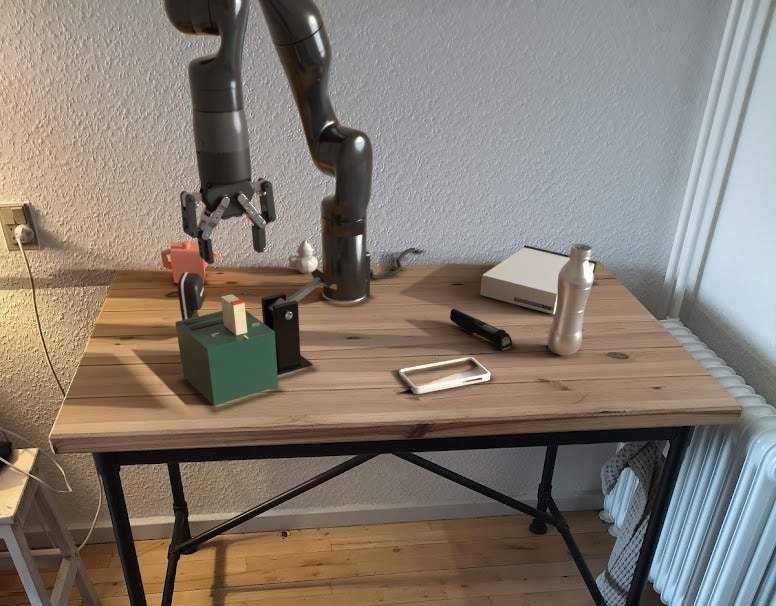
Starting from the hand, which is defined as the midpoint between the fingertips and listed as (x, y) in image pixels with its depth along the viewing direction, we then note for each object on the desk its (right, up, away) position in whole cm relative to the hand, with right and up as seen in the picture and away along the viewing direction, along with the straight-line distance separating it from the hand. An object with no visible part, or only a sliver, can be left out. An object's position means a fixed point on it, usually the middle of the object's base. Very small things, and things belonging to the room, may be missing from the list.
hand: (234, 256), depth 119 cm
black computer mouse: (-13, -5, +30) cm, 33 cm away
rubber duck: (+4, +16, +57) cm, 59 cm away
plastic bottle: (+57, -9, +29) cm, 65 cm away
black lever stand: (+5, -13, +20) cm, 25 cm away
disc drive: (+57, +10, +53) cm, 79 cm away
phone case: (+34, -16, +19) cm, 42 cm away
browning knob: (-1, -10, +7) cm, 12 cm away
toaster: (-3, -18, +14) cm, 23 cm away
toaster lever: (+9, -3, +15) cm, 18 cm away
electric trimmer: (+42, -5, +33) cm, 54 cm away
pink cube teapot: (-19, +12, +52) cm, 57 cm away
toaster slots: (-5, -7, +9) cm, 13 cm away
